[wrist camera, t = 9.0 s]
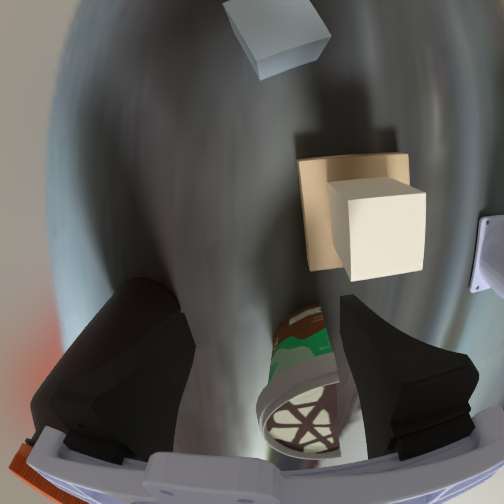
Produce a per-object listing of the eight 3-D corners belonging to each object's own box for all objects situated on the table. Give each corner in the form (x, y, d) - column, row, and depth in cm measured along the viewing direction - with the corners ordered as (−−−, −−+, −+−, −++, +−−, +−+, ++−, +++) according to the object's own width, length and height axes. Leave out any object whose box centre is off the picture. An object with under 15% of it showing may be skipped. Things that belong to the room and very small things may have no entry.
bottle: (126, 332, 27) (36, 491, 9) (111, 274, 24) (-25, 439, 6) (186, 339, 27) (118, 532, 8) (177, 278, 24) (59, 499, 6)
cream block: (388, 176, 18) (425, 193, 13) (389, 236, 19) (422, 269, 14) (327, 182, 18) (347, 200, 13) (332, 244, 20) (351, 281, 15)
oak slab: (394, 151, 19) (407, 154, 17) (396, 246, 22) (408, 258, 20) (295, 158, 20) (298, 161, 18) (306, 257, 23) (310, 271, 21)
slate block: (289, 13, 15) (294, -21, 10) (316, 60, 17) (331, 36, 12) (234, 33, 16) (222, 3, 11) (260, 80, 18) (256, 61, 12)
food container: (246, 300, 24) (232, 390, 15) (317, 287, 23) (339, 375, 14) (273, 390, 29) (272, 468, 20) (329, 381, 28) (341, 459, 19)
